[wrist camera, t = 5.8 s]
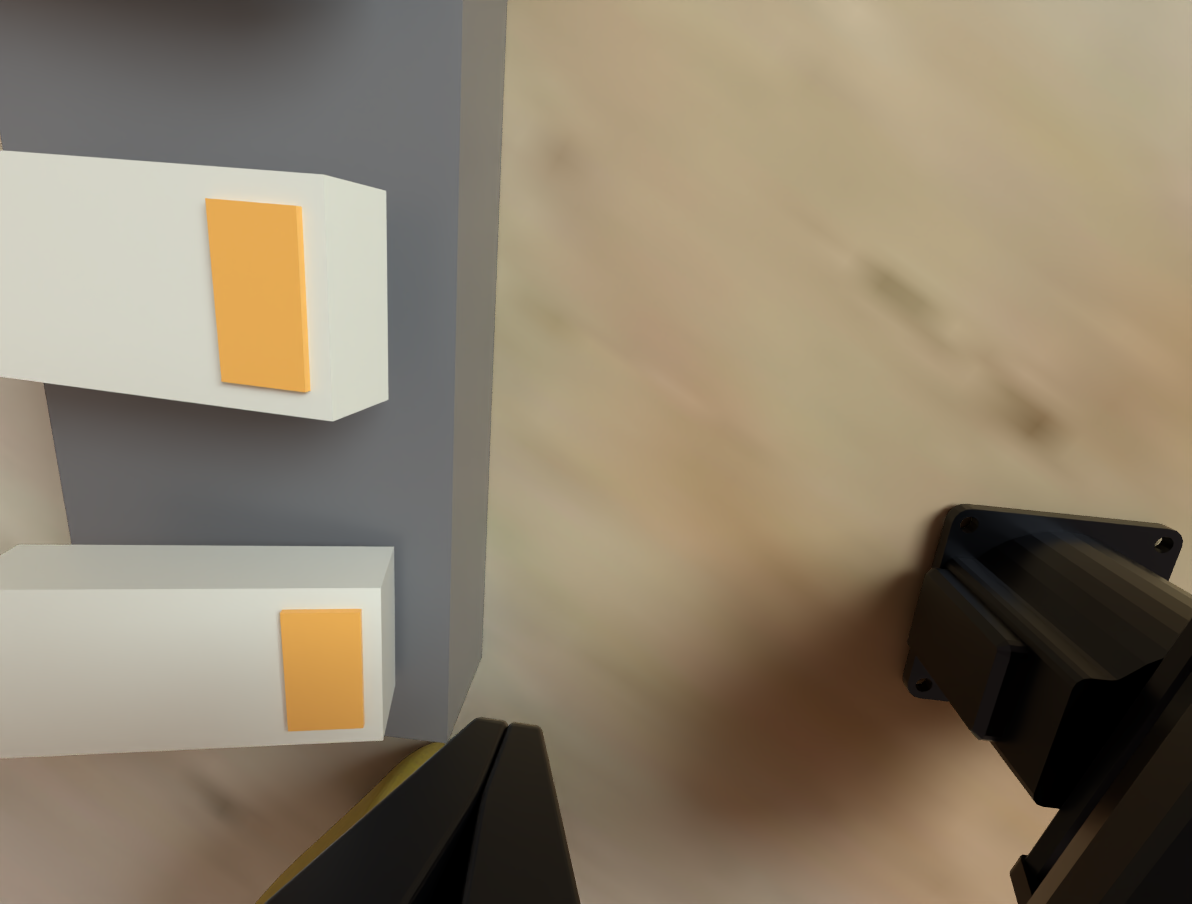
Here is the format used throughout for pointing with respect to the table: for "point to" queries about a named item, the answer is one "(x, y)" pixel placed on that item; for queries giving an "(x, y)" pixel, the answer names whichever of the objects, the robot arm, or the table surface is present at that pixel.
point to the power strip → (414, 286)
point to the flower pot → (355, 814)
